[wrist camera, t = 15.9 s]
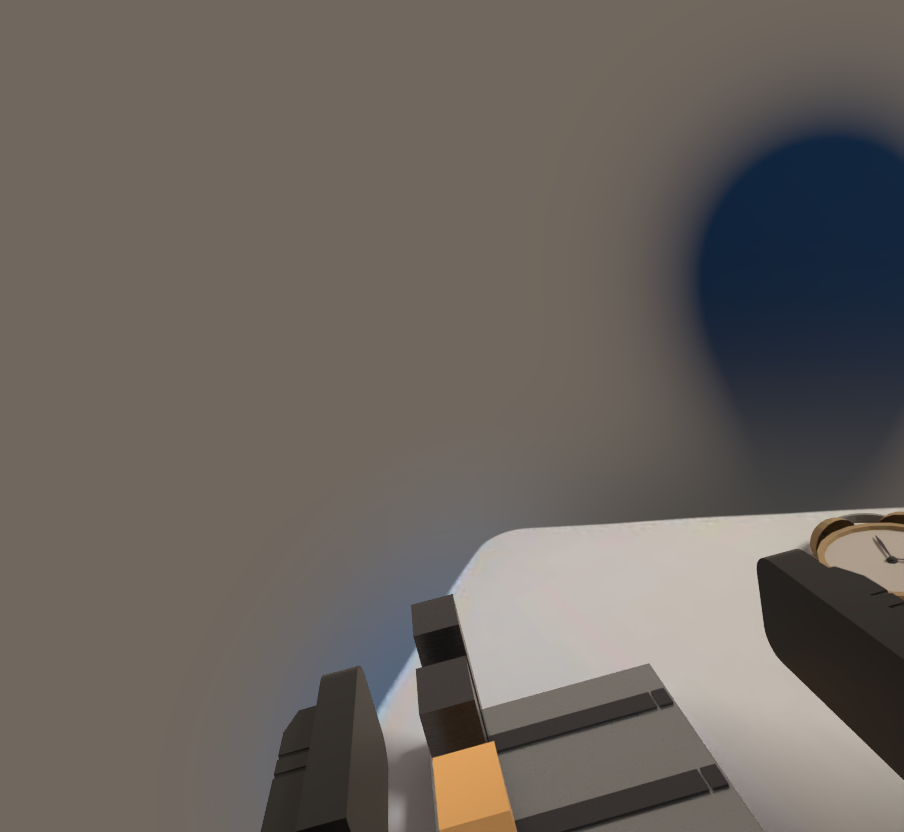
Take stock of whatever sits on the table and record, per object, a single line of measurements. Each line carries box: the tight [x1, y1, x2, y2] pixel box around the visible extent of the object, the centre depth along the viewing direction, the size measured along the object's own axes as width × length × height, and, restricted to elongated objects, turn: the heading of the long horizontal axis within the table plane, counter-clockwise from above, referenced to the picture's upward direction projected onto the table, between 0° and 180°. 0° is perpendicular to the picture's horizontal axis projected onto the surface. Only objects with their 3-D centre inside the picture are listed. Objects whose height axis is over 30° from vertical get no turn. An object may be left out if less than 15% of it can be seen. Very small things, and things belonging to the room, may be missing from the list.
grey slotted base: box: [411, 594, 764, 832], centre depth 37 cm, size 18×23×14 cm
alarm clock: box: [810, 512, 904, 600], centre depth 57 cm, size 11×5×15 cm
